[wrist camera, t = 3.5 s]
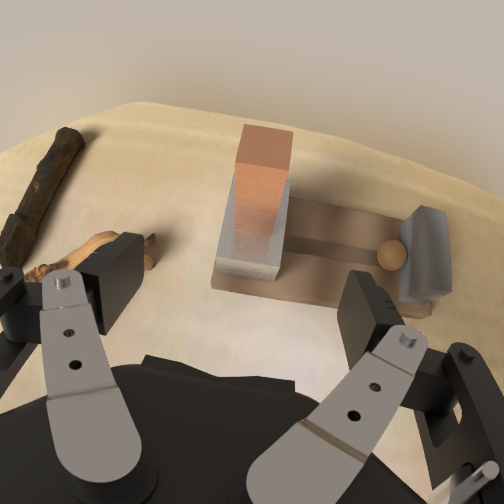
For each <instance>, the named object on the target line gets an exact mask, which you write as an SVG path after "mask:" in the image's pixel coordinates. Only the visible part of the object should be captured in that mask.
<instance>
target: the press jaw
mask: <svg viewBox="0 0 504 504" xmlns="http://www.w3.org/2000/svg"><path fill="white" fill-rule="evenodd" d="M292 139H293V132H290V131H285V130H279V129H273V128H267V127H261V126H254V125H247V124H244V127H243V131H242V135H241V140H240V144H239V148H238V152H237V156H236V160H235V172H234V176H233V180H232V185H231V189H230V194H229V198H228V202H227V207H226V211H225V216H224V221H223V225H222V230H221V234H220V239H219V244H218V248H217V253H216V262H217V268H218V272H220V273H226V274H232V275H238V276H244V277H250V278H256V279H262V280H268V281H274V280H275V278H276V275H277V273H278V271H279V268H280V263H281V256H282V248H283V241H284V233H285V225H286V217H287V209H288V201H289V193H290V185H291V181H287V180H286V179H287V175H288V172H289V164H290V156H291V148H292Z"/></svg>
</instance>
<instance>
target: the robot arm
mask: <svg viewBox="0 0 504 504" xmlns="http://www.w3.org/2000/svg"><path fill="white" fill-rule="evenodd" d="M143 277H144V237H143V235H141V234H135V233H129V232H123V233H122V234H121V235H120V236H119V237H117V238H116V239H115V240H114V241H113V242H108V243H106V244H103V245H101V246H99V247H98V248H97V249H96V250H95V251H93V253H91V254H90V255H89V256H88V258H85V259H84V260H83V261H82V262H81V263H80V264H78V265H77V266H76V267H75V268H74V269H73V270H72V269H59V270H55V271H52V272H50V273H48V274H47V275H46V276H45V277H44V278H43V280H42V283H39V282H25V277H24V273H23V271H22V270H21V269H20V268H17V267H6V268H2V269H0V321H1V324H2V327H3V331H2V332H1V334H0V399H1V397H2V396H3V394H4V392H5V391H6V389H7V388H8V386H9V385H10V383H11V382H12V381H13V379H14V378H15V376H16V375H17V373H18V372H19V370H20V369H21V368H22V366H23V365H24V363H25V362H26V360H27V359H28V358H29V356H30V355H31V354H32V352H33V351H34V349H35V348H36V347H37V345H38V344H42V355H43V365H44V373H45V381H46V388H47V395H46V396H43V397H41V398H39V399H36V400H34V401H32V402H29V403H27V404H24V405H22V406H19V407H17V408H15V409H12V410H10V411H7V412H5V413H2V414H0V504H504V396H503V394H502V392H501V391H500V389H499V387H498V385H497V383H496V381H495V379H494V377H493V376H492V374H491V372H490V370H489V368H488V367H487V365H486V363H485V361H484V360H483V358H482V356H481V355H480V353H479V352H478V351H477V350H476V349H474V348H473V347H471V346H469V345H467V344H465V343H460V342H456V343H453V344H451V346H450V347H449V349H448V351H447V353H443V352H440V351H436V350H433V349H430V348H427V347H428V341H427V339H426V338H425V336H424V335H423V334H422V333H421V332H419V331H418V330H416V329H414V328H412V327H409V326H406V325H405V323H404V321H403V319H402V318H401V316H400V314H399V312H398V310H396V306H395V304H394V303H393V301H392V299H391V297H390V295H389V294H388V293H387V292H386V291H385V290H384V289H383V288H382V287H381V286H377V284H376V282H375V280H374V279H373V277H372V275H371V273H370V272H365V271H358V270H351V271H350V272H349V274H348V277H347V280H346V284H345V287H344V290H343V293H342V296H341V299H340V302H339V306H338V312H337V319H338V324H339V328H340V332H341V336H342V340H343V344H344V348H345V352H346V357H347V361H348V365H349V370H350V372H349V373H348V374H347V375H346V376H345V377H344V379H343V380H342V381H341V382H340V383H339V384H338V385H337V386H336V387H335V389H334V390H333V391H332V392H331V393H330V394H329V395H328V396H327V397H326V398H325V399H324V400H323V401H322V402H321V403H319V402H317V401H315V400H314V399H312V398H310V397H308V396H305V395H303V394H300V393H297V392H295V381H292V380H283V379H275V378H268V377H261V376H247V377H217V376H213V375H211V374H208V373H206V372H203V371H201V370H198V369H196V368H193V367H191V366H188V365H186V364H183V363H181V362H177V361H172V360H167V359H163V358H159V357H154V356H150V355H145V357H144V359H143V361H142V363H141V364H128V365H120V366H116V367H112V368H110V366H109V363H108V360H107V357H106V354H105V351H104V348H103V345H102V341H101V338H100V335H99V334H101V335H105V336H106V335H107V333H108V332H109V330H110V329H111V327H112V326H113V324H114V323H115V321H116V320H117V319H118V317H119V316H120V314H121V313H122V311H123V310H124V309H125V307H126V306H127V304H128V303H129V301H130V300H131V299H132V297H133V296H134V294H135V293H136V292H137V290H138V289H139V288H140V286H141V284H142V281H143ZM458 401H459V404H460V406H461V409H462V418H461V421H460V423H459V424H458V421H457V419H456V416H455V413H454V411H453V408H454V407H455V405H456V404H457V403H458ZM399 406H402V407H406V408H410V409H413V410H414V414H415V418H416V422H417V425H418V429H419V433H420V437H421V441H422V445H423V449H424V453H425V458H426V462H427V467H428V471H429V476H430V481H431V486H432V492H431V494H430V495H429V497H428V501H427V502H426V501H425V500H423V499H422V498H421V497H420V496H419V495H418V494H417V493H416V492H414V491H413V490H412V489H411V488H410V487H409V486H408V485H407V484H406V483H404V482H403V481H402V480H401V479H400V478H399V477H398V476H397V475H396V474H395V473H394V472H392V471H391V470H390V469H389V468H388V467H387V466H386V465H385V464H384V463H383V462H382V461H381V460H380V459H379V458H378V457H376V456H375V455H374V454H373V453H372V450H373V449H374V447H375V446H376V444H377V442H378V441H379V439H380V438H381V436H382V435H383V433H384V431H385V430H386V428H387V426H388V425H389V423H390V421H391V420H392V418H393V416H394V414H395V413H396V411H397V409H398V407H399Z"/></svg>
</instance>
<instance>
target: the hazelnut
mask: <svg viewBox="0 0 504 504" xmlns="http://www.w3.org/2000/svg"><path fill="white" fill-rule="evenodd" d="M377 258H378V262H379V264H380V265H381V266H382V267H383V268H384V269H386V270H389V271H395V270H398V269H400V268H401V267H403V265H404V264H405V262H406V260H407V250H406V248H405V246H404V245H403V244H402V243H401V242H400V241H398V240H393V239H391V240H387V241H385V242H383V243H382V244H381V245H380V247H379V249H378V252H377Z"/></svg>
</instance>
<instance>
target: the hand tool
mask: <svg viewBox="0 0 504 504" xmlns="http://www.w3.org/2000/svg"><path fill="white" fill-rule="evenodd" d="M85 144H86V143H85V142H84V139H83V137H82V135H81V134H80V133H79V132H78V131H77V130H75V129H71V128H67V127H63V128H61V129H59V130H58V131H57V133H56V136H55V140H54V143H53V144H52V146H51V147H50V149H49V151H48V152H47V154H46V155H45V157H44V158H43V159H42V160H41V161H40V163H39V164H38V165H37V171H36V173H35V175H34V177H33V179H32V181H31V183H30V185H29V186H28V188H27V190H26V193H25V194H24V196H23V199H22V200H21V203H20V204H19V207H18V209H17V210H16V211H15V214H10V215H9V217H8V219H7V221H6V223H5V226H4V228H3V230H2V231H1V235H0V264H1V266H2V268H6V267H17V268H20V267H21V265H22V264H23V262H24V261H25V259H26V257H27V255H28V253H29V251H30V249H31V247H32V246H33V244H34V242H35V241H36V239H37V234H36V230H37V227H38V225H39V222H40V220H41V218H42V216H43V214H44V212H45V210H46V208H47V206H48V205H49V203H50V202H51V199H52V197H53V194H54V192H55V190H56V188H57V186H58V184H59V182H60V181H61V179H62V178H63V176H64V174H65V172H66V171H67V168H68V166H69V165H70V163H71V161H72V159H73V157H74V155H75V154H76V152H77V151H78V149H80V148H84V146H85Z"/></svg>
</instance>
